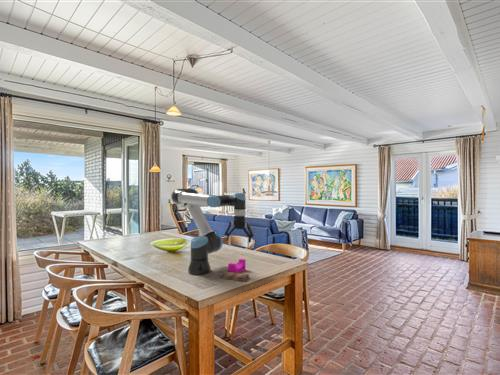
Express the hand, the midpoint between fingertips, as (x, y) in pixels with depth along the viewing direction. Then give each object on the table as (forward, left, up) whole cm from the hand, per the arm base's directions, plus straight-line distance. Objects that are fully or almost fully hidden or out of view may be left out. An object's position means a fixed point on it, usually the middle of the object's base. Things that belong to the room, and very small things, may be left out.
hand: (238, 246), depth 189 cm
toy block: (-2, -1, -18) cm, 18 cm away
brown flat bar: (+3, -12, -18) cm, 22 cm away
